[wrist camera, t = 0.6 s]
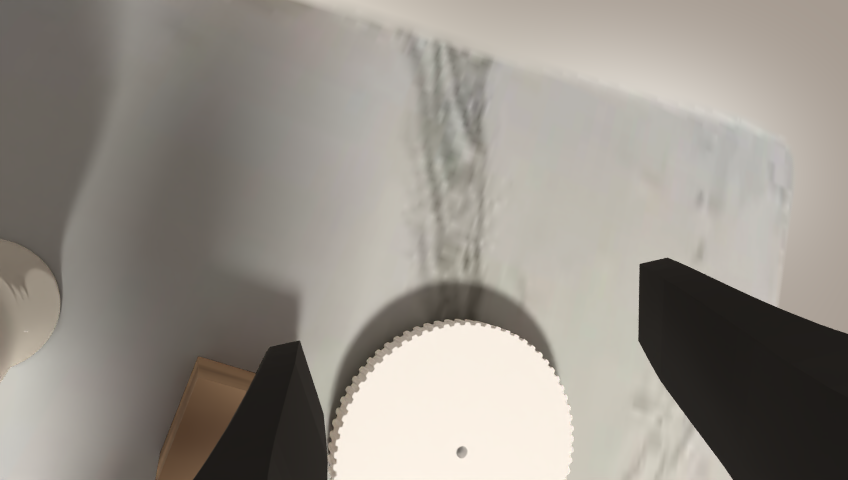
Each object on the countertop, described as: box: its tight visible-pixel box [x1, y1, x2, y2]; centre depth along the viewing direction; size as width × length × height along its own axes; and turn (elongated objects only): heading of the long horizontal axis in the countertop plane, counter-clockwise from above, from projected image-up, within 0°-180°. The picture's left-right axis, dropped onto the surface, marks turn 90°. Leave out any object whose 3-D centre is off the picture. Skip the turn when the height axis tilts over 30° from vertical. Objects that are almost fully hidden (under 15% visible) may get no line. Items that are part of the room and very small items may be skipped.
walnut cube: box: [155, 356, 256, 480], centre depth 30 cm, size 5×5×5 cm
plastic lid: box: [328, 319, 574, 480], centre depth 35 cm, size 14×14×2 cm
